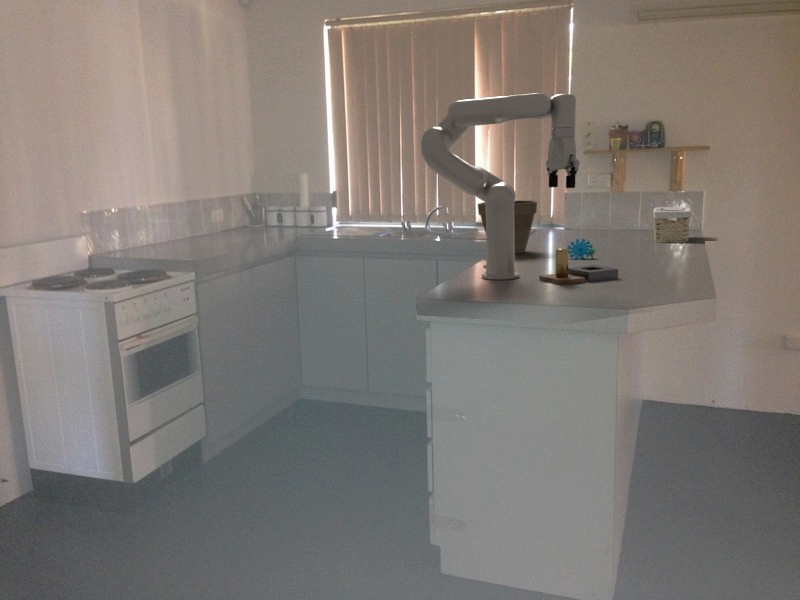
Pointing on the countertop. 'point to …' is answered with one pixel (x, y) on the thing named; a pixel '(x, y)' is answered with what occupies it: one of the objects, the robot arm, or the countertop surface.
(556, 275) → the key peg
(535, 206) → the plant pot
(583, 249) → the gear
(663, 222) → the storage basket
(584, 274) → the grey square frame
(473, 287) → the countertop surface
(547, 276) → the board
